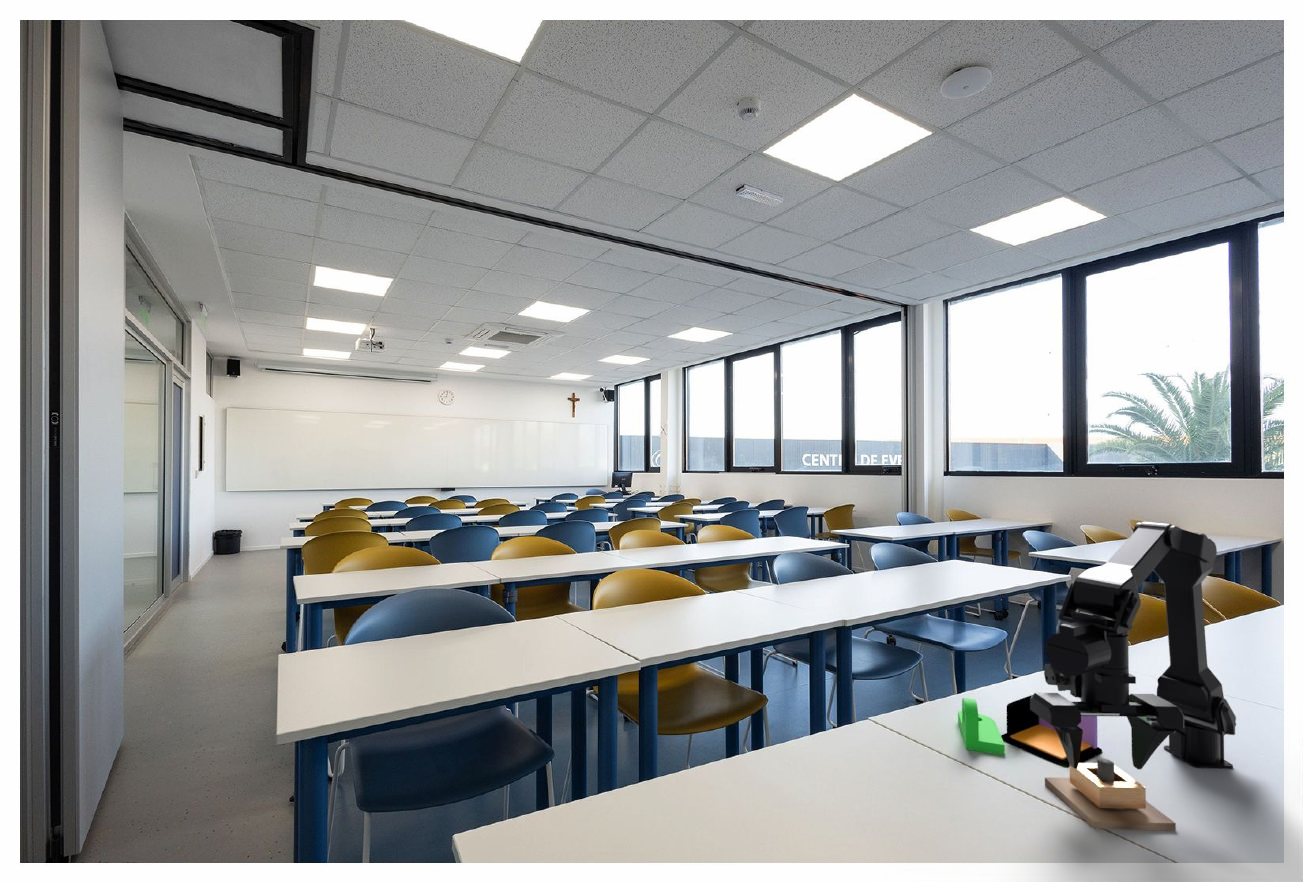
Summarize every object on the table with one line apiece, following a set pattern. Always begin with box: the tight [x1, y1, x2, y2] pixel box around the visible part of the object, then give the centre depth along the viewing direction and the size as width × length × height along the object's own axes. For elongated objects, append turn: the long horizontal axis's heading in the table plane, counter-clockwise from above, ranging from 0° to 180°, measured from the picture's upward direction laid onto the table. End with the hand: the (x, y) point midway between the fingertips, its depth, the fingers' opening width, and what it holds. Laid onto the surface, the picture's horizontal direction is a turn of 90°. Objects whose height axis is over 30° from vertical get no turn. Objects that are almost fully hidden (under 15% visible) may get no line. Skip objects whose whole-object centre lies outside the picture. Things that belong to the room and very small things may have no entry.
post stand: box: [1044, 757, 1177, 831], centre depth 88 cm, size 11×11×7 cm
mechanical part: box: [957, 697, 1006, 756], centre depth 110 cm, size 12×6×8 cm, turn 159°
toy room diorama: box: [1000, 694, 1103, 769], centre depth 106 cm, size 12×12×7 cm
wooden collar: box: [1069, 762, 1147, 809], centre depth 87 cm, size 6×6×3 cm
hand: (1105, 767), depth 87 cm, fingers open, 9 cm apart
